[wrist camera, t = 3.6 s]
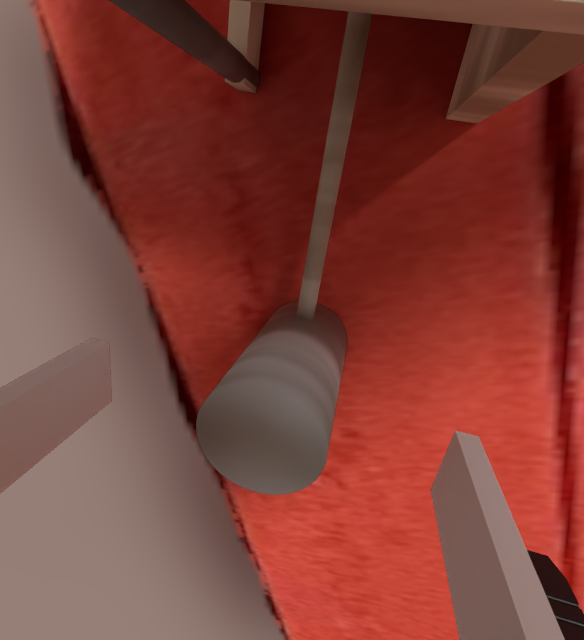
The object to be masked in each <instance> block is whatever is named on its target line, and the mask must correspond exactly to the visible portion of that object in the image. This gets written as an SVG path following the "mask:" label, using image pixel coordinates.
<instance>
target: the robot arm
mask: <svg viewBox="0 0 584 640" xmlns="http://www.w3.org/2000/svg"><path fill="white" fill-rule="evenodd" d="M111 401H112V389H111V370H110V349H109V342H106V341H101V340H98V339H94V338H91V339H89V340H87V341H85V342H83V343H81V344H80V345H78V346H76V347H74V348H72V349H71V350H69V351H67V352H65V353H63V354H61V355H60V356H58V357H56V358H54V359H52V360H50V361H49V362H47V363H45V364H43V365H41V366H40V367H38V368H36V369H34V370H32V371H30V372H28V373H27V374H25V375H23V376H21V377H19V378H18V379H16V380H14V381H12V382H10V383H8V384H7V385H5V386H3V387H1V388H0V493H1V492H3V491H4V490H5V489H6V488H7V487H9V486H10V485H11V484H12V483H13V482H15V481H16V480H17V479H18V478H20V476H22V475H23V474H24V473H25V472H27V471H28V470H29V469H30V468H32V467H33V466H34V465H35V464H36V463H38V462H39V461H40V460H41V459H42V458H44V457H45V456H46V455H47V454H48V453H50V451H52V450H53V449H54V448H56V447H57V446H58V445H59V444H60V443H62V442H63V441H64V440H65V439H66V438H68V437H69V436H70V435H71V434H72V433H74V432H75V431H76V430H77V429H78V428H80V427H81V426H82V425H83V424H84V423H86V422H87V421H88V420H89V419H90V418H92V417H93V416H94V415H95V414H97V413H98V412H99V411H100V410H101V409H102V408H104V407H105V406H106V405H107V404H109V403H110V402H111ZM431 494H432V499H433V504H434V510H435V515H436V520H437V525H438V530H439V536H440V541H441V546H442V551H443V556H444V562H445V567H446V572H447V577H448V582H449V587H450V593H451V598H452V603H453V608H454V613H455V619H456V624H457V629H458V634H459V639H460V640H584V614H583V612H582V610H581V609H579V607H578V605H579V604H578V602H577V599H576V597H575V595H574V593H573V591H572V589H571V587H570V585H569V583H568V581H567V579H566V578H565V577H564V576H563V574H562V573H561V572H560V571H559V569H558V568H557V567H556V566H555V564H554V563H553V562H552V561H551V560H550V558H549V557H548V556H546V555H542V554H539V553H536V552H532V551H529V550H527V549H526V547H525V545H524V542H523V540H522V538H521V535H520V533H519V530H518V528H517V526H516V523H515V521H514V519H513V516H512V514H511V512H510V509H509V507H508V505H507V502H506V500H505V497H504V495H503V493H502V490H501V488H500V486H499V483H498V481H497V479H496V476H495V474H494V472H493V469H492V467H491V464H490V462H489V460H488V457H487V455H486V453H485V450H484V448H483V446H482V443H481V441H480V438H479V436H475V435H471V434H467V433H463V432H459V431H455V432H454V435H453V437H452V440H451V442H450V444H449V447H448V449H447V452H446V454H445V456H444V459H443V461H442V464H441V466H440V468H439V471H438V473H437V475H436V478H435V480H434V483H433V485H432V487H431Z"/></svg>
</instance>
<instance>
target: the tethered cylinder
mask: <svg viewBox="0 0 584 640" xmlns="http://www.w3.org/2000/svg"><path fill="white" fill-rule="evenodd" d="M372 15H373V14H370V13H360V12H350V11H348V17H347V23H346V29H345V35H344V40H343V46H342V52H341V58H340V64H339V70H338V75H337V81H336V87H335V93H334V99H333V104H332V110H331V116H330V122H329V128H328V134H327V139H326V145H325V151H324V157H323V163H322V169H321V174H320V180H319V186H318V192H317V198H316V204H315V209H314V215H313V221H312V227H311V233H310V238H309V244H308V250H307V256H306V262H305V268H304V273H303V279H302V285H301V291H300V297H299V301H294V302H290V303H288V304H285V305H283V306H282V307H280V308H279V309H277V310H276V311H275V312H274V313H273V315H272V316H271V317H270V318H269V320H268V321H267V322H266V324H265V325H264V326H263V327H262V329H261V330H260V331H259V332H258V334H257V335H256V336H255V338H254V339H253V340H252V341H251V343H250V344H249V345H248V346H247V348H246V349H245V350H244V352H243V353H242V354H241V355H240V357H239V358H238V359H237V360H236V362H235V363H234V364H233V366H232V367H231V368H230V369H229V371H228V372H227V373H226V374H225V376H224V377H223V378H222V380H221V381H220V382H219V383H218V385H217V386H216V387H215V388H214V390H213V391H212V392H211V394H210V395H209V396H208V397H207V399H206V400H205V401H204V403H203V404H202V406H201V408H200V410H199V412H198V416H197V421H196V432H197V438H198V441H199V445H200V447H201V449H202V451H203V453H204V455H205V456H206V458H207V459H208V461H209V462H210V463H211V465H212V466H213V467H214V468H215V469H216V470H217V471H218V472H219V473H220V474H222V475H223V476H224V477H225V478H227V479H228V480H230V481H231V482H233V483H235V484H236V485H238V486H241V487H243V488H245V489H248V490H250V491H254V492H258V493H262V494H270V495H281V494H289V493H293V492H296V491H299V490H301V489H304V488H306V487H307V486H309V485H310V484H312V483H313V482H314V481H315V480H316V479H317V478H318V476H319V475H320V474H321V472H322V470H323V468H324V466H325V463H326V459H327V453H328V448H329V443H330V437H331V432H332V426H333V421H334V415H335V410H336V405H337V399H338V394H339V388H340V383H341V377H342V372H343V367H344V361H345V356H346V350H347V334H346V330H345V328H344V325H343V324H342V322H341V320H340V319H339V318H338V316H337V315H336V314H335V313H334V312H332V311H331V310H330V309H329V308H327V307H325V306H323V305H321V304H319V303H317V299H318V294H319V289H320V283H321V278H322V273H323V268H324V263H325V258H326V252H327V247H328V242H329V237H330V232H331V227H332V222H333V216H334V211H335V206H336V201H337V196H338V191H339V185H340V180H341V175H342V170H343V165H344V160H345V154H346V149H347V144H348V139H349V134H350V129H351V123H352V118H353V113H354V108H355V103H356V98H357V92H358V87H359V82H360V77H361V72H362V67H363V61H364V56H365V51H366V46H367V41H368V36H369V30H370V25H371V20H372Z"/></svg>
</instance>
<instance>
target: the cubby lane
mask: <svg viewBox="0 0 584 640" xmlns="http://www.w3.org/2000/svg"><path fill="white" fill-rule="evenodd" d="M110 1H111V2H113V3H114V4H116V5H117V6H119V7H120V8H122V9H123V10H125V11H126V12H127V13H129V14H130V15H132V16H133V17H135V18H136V19H138V20H139V21H141V22H142V23H144V24H145V25H147V26H148V27H150V28H151V29H153V30H154V31H156V32H157V33H159V34H160V35H162V36H163V37H165V38H166V39H168V40H169V41H171V42H172V43H174V44H175V45H177V46H178V47H180V48H181V49H183V50H184V51H186V52H187V53H189V54H190V55H192V56H193V57H195V58H196V59H198V60H199V61H201V62H202V63H204V64H205V65H207V66H208V67H210V68H211V69H213V70H214V71H216V72H217V73H218V74H220V75H221V76H223V77H224V78H225V82H226V83H228V84H229V85H231V86H232V87H234V88H235V89H237V90H239V91H246V92H254V93H256V90H257V86H258V84H259V81H260V74H259V71H258V69H259V59H260V48H261V38H262V28H263V17H264V7H265V3H269V4H279V5H289V6H299V7H309V8H320V9H330V10H340V11H350V12H360V13H370V14H380V15H390V16H400V17H411V18H421V19H431V20H441V21H451V22H461V23H471V24H473V25H472V28H471V32H470V35H469V39H468V42H467V46H466V49H465V53H464V56H463V60H462V63H461V67H460V70H459V74H458V77H457V81H456V84H455V88H454V91H453V95H452V98H451V102H450V105H449V109H448V112H447V116H446V119H449V120H456V121H463V122H471V123H479V122H481V121H483V120H484V119H486V118H488V117H490V116H491V115H493V114H495V113H497V112H498V111H500V110H502V109H504V108H505V107H507V106H509V105H511V104H512V103H514V102H516V101H518V100H519V99H521V98H523V97H525V96H526V95H528V94H530V93H532V92H533V91H535V90H537V89H539V88H540V87H542V86H544V85H546V84H547V83H549V82H551V81H553V80H554V79H556V78H558V77H560V76H561V75H563V74H565V73H567V72H568V71H570V70H572V69H574V68H575V67H577V66H579V65H581V64H582V63H584V0H230V6H229V21H228V37H227V39H226V38H224V37H223V36H222V35H221V34H220V33H219V32H218V31H217V30H216V29H215V28H214V27H213V26H212V25H210V24H209V23H208V22H207V21H206V20H205V19H204V18H203V17H202V16H201V15H200V14H199V13H198V12H197V11H195V10H194V9H193V8H192V7H191V6H190V5H189V4H188V3H187V2H186V1H185V0H110Z"/></svg>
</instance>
